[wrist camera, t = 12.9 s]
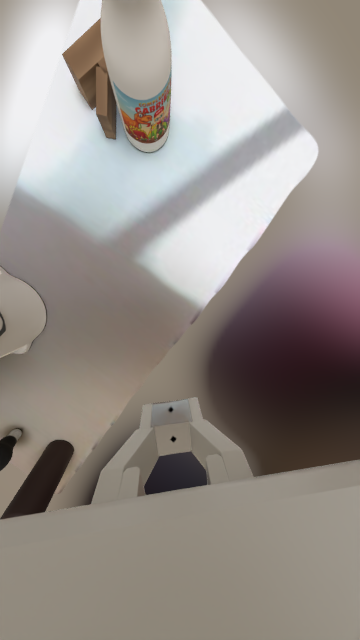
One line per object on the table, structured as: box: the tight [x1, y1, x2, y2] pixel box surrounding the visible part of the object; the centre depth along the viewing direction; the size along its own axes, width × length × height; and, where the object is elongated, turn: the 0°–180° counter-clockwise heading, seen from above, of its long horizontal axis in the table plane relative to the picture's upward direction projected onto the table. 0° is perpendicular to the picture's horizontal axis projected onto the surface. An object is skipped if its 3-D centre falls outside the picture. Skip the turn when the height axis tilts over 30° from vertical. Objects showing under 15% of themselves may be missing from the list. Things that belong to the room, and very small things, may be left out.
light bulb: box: [0, 429, 22, 471], centre depth 41 cm, size 6×6×10 cm
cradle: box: [62, 18, 117, 139], centre depth 27 cm, size 8×13×5 cm, turn 125°
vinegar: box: [0, 440, 74, 520], centre depth 39 cm, size 7×7×20 cm
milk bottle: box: [101, 0, 171, 152], centre depth 22 cm, size 8×8×20 cm
